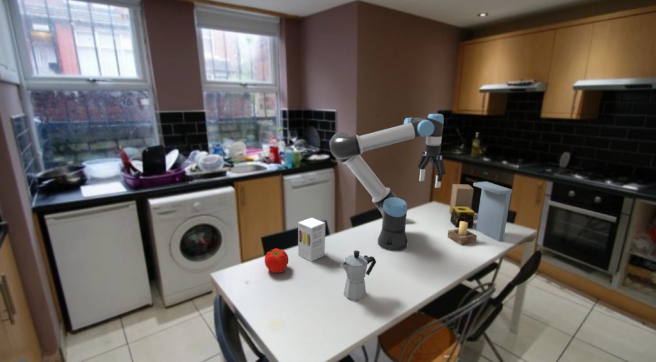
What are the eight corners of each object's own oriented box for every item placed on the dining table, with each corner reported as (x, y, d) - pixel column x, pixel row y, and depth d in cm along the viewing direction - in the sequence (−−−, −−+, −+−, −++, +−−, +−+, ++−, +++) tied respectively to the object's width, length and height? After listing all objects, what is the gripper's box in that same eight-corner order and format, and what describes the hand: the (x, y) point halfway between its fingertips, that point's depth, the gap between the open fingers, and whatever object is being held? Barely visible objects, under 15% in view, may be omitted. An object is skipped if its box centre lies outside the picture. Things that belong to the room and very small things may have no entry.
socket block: (460, 245, 164) (461, 238, 163) (447, 237, 173) (448, 230, 172) (475, 242, 167) (476, 235, 166) (462, 234, 176) (463, 228, 175)
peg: (461, 242, 167) (463, 224, 165) (455, 239, 171) (458, 221, 168) (467, 241, 168) (469, 223, 166) (461, 238, 172) (464, 220, 170)
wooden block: (464, 213, 208) (468, 184, 203) (469, 219, 199) (473, 188, 194) (449, 213, 209) (452, 183, 204) (453, 218, 200) (457, 188, 195)
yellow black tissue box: (473, 228, 185) (475, 212, 183) (456, 228, 185) (458, 212, 183) (466, 221, 195) (468, 206, 193) (449, 221, 195) (451, 206, 193)
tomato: (270, 279, 131) (270, 260, 129) (261, 267, 140) (260, 249, 138) (293, 272, 137) (293, 253, 135) (283, 261, 146) (282, 243, 144)
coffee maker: (345, 304, 116) (346, 260, 111) (335, 291, 123) (336, 249, 119) (380, 295, 122) (382, 252, 117) (368, 283, 129) (370, 242, 125)
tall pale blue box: (490, 243, 166) (499, 191, 159) (466, 230, 181) (473, 182, 174) (503, 241, 169) (512, 189, 162) (479, 228, 184) (486, 181, 177)
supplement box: (297, 254, 152) (297, 222, 147) (311, 248, 158) (311, 216, 154) (311, 262, 145) (311, 227, 141) (325, 255, 152) (325, 222, 148)
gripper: (456, 147, 154) (451, 189, 160) (424, 141, 177) (421, 177, 182) (443, 148, 152) (438, 190, 157) (413, 141, 174) (410, 178, 180)
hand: (429, 184), depth 170 cm, fingers open, 13 cm apart
